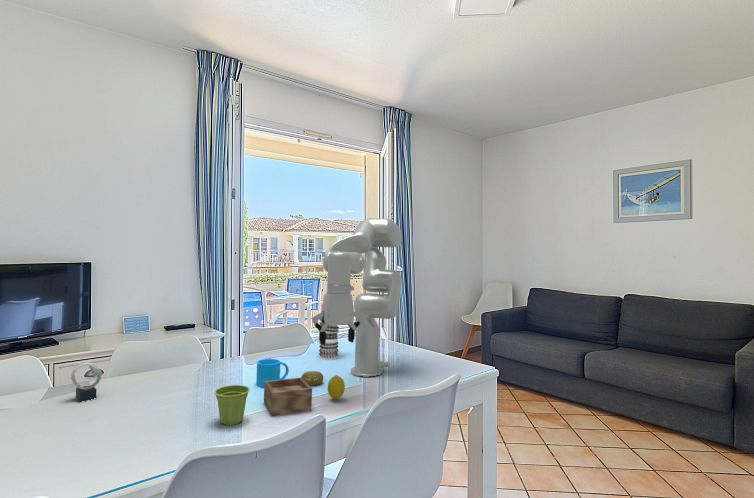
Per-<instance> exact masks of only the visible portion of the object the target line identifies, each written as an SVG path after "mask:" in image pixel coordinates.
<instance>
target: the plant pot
mask: <svg viewBox="0 0 754 498" xmlns="http://www.w3.org/2000/svg"><path fill="white" fill-rule="evenodd" d="M250 390H251V389H250V387H249V386H246V385H244V384H231V385H225V386H221V387H218V388H216V389H215V390H214V392H213V393H214V395H215V397H216V399H217V406H218V415H219V422H220V424H222V425H223V424H224V425H225V426H232V425H236V424H239V423H240V422H243V421H244V416H245V415H244V414H245V409H246V402H247V397H248V395H249V392H250Z"/></svg>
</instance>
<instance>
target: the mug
mask: <svg viewBox="0 0 754 498" xmlns="http://www.w3.org/2000/svg"><path fill="white" fill-rule="evenodd" d="M281 365H283V367H284V368H285V373H284V374H283V376H281ZM289 371H290V368H289V366H288V364H286V362H282V361H281V360H280V359H277V358H264V359H259V360H258V361H256V381H255V382H256V383H255V384H256V385H255V386H257V387H258V388H260V389H264V381H271V380H281V379H286V377H287V376H288V375H289Z"/></svg>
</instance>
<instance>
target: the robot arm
mask: <svg viewBox="0 0 754 498" xmlns="http://www.w3.org/2000/svg"><path fill="white" fill-rule="evenodd" d="M402 240H403V233H402V230H401V228H400V227H399V226H398V225H397V223H396V222H395V221H393V220H392V219H390V218H384V217H383V218H371V217H370V218H364V219H363V220H361V221H360V222H359V224H358V225H357V227H356V228H355V229H354V231H353V233H352V234H350V235H348V236H346V237H344V238H342V239H339V240H337V241H335V242H333V243H332V244H331V245H330V246H329V247H328V249H327V250H326V252H325V253H324V257H323V260H322V265H323V269H324V270H325V271H326V272H327V275H326V276H327V278H326V279H327V281H326V283H327V284H326V286H327V287H326V293H325V294H324V295H323V298H322V304H321V305H322V306H321V311H320V313H318V314H316V315H314V316H312V317H311V321H312V323H313V325H314V327H315V328H316V329H317V330H318V332H319V333H318V340H319V344H320V343H321V344H323V345H325V343H326V332H325V329H326V328H327V327H328V326H336V325H337V326H348V332H347V340H348V342H350V343H354V340H355V344H354V345H355V347H354V367H352V368H351V369H350V373H351V374H352V375H353V376H356V377H360V376H363V377H362V378H370V377H369V376H375V377H377V376H376V375H379V374H381V373H382V374H383V368H388V367H390V365H391V363H390V361H385V362H384V360H382V361H381V360H380V325H379V324H378V322H377V321H376V319H384V320H392V319H394V318H396V316H397V315H398V309H399V302H400V299H401V298H400V297H401V289H402V275H401V274H400V272H399V271H398V270H395V269H386V268H387V259H386V256H385V255H384V253H383V252H382V251H381V250H380V249H379V248H392V249H393V248H394V249H395V248H398V247H399V246H400V245H402V242H403V241H402ZM363 254H365V257H364V255H363ZM365 259H366V260H365ZM362 272H363V276H362V284H361V285H362V288H363V290H364V291H367V292H365V293H360V294H357V296H355V298H354V300H353V294H352V291H355V287H354V286H352V284H351V275H357V274H360V273H362ZM368 292H369V293H368ZM320 318H321V321H320V322H322V324H321V325H320V323H319V322H318V321H319V319H320ZM354 320H355V321H354ZM321 344H320V345H321ZM382 374H381V375H382ZM379 376H380V375H379Z"/></svg>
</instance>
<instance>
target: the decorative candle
mask: <svg viewBox="0 0 754 498" xmlns="http://www.w3.org/2000/svg"><path fill="white" fill-rule="evenodd" d="M321 307H322V304H321ZM318 321H320V322H319V325H321V324H322V322H321V318H320V319H318ZM339 328H340V327H339V326H338V325H336V326H328V327H327V328H326V329H325V332H326V343H325V345H323V344H321V343H320V342H319V344H320V345H319V349H318V351H319V353H318V355H319V356H318V357H319V359H320V360H324V361H326V360H327V361H333V360H337V359H338V358H339V357H338V355H339V353H338V352H339V349H338V348H339V341H338V340H339V338H338V333H339V332H340V331H339Z"/></svg>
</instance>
